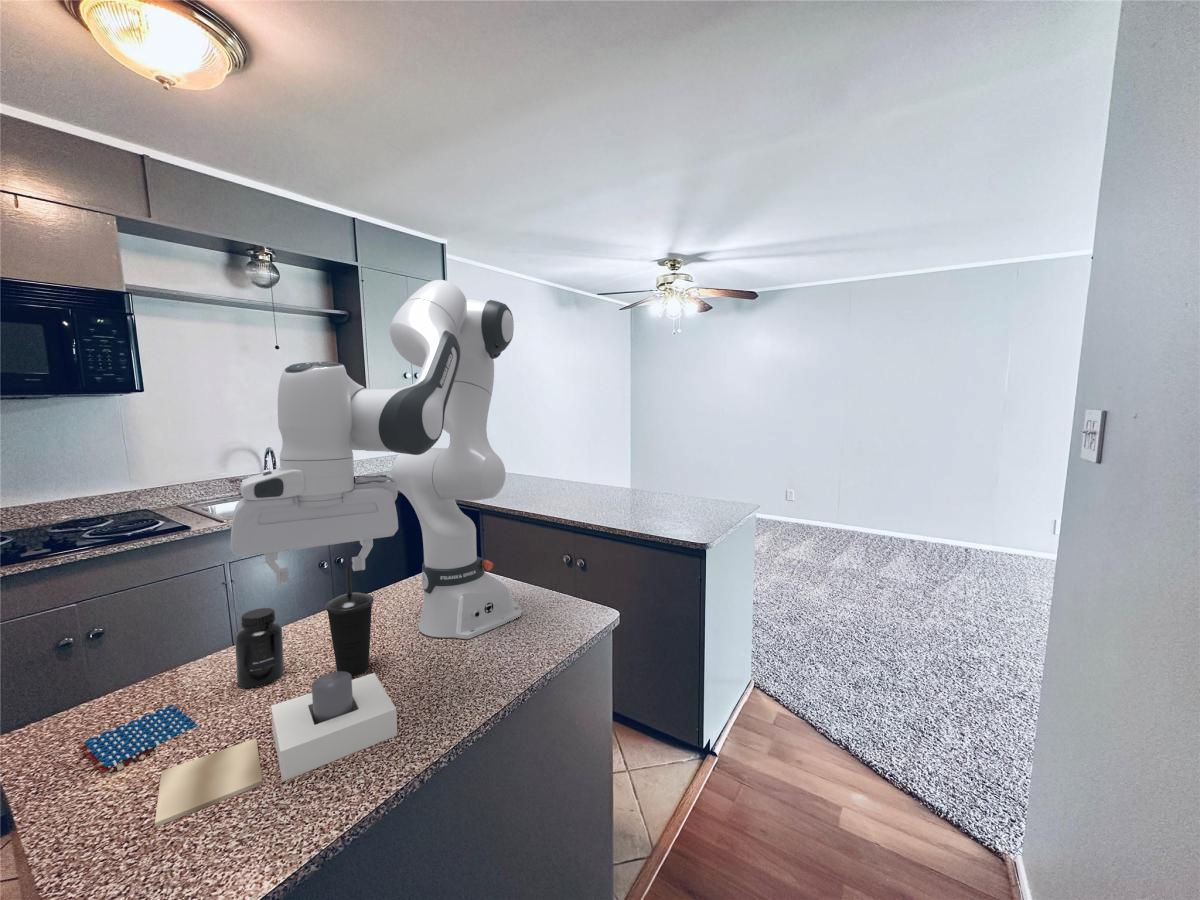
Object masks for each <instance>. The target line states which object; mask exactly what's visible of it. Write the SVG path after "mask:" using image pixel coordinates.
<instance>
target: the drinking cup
mask: <svg viewBox="0 0 1200 900" xmlns="http://www.w3.org/2000/svg"><path fill="white" fill-rule="evenodd" d="M351 570H352V569H351V566H350V565H347V566H346V567H345V572H346V573H345V575H346V576H345V577H346V593H344V594H340V595H339V596H337V597H335V598H332V599H331V600H329V601H327V602H326V604H325V605H324V608H325V611H326V612H327V616H328V623H329V629H330V637H331V641H332V642H331V643H332V647H333V654H334V660H335V667H336V672H338V671H344V672H348V673H350V674H351V676H352V678H354V677H357V676H359V675H362V674H363V673H365V672H367V671H368V669H369V664H370V662H369V661H370V645H371V643H370V642H371V627H372V607H373V603H374V600H375V599H374V596H373V595H371V594H369V593H363V592H352V577H351V574H352V572H351Z"/></svg>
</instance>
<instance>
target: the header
mask: <svg viewBox="0 0 1200 900" xmlns="http://www.w3.org/2000/svg"><path fill="white" fill-rule="evenodd" d="M352 696H353V712H350V713H347V714H344V715H341V716H339V717H336V718H333V719H330V720H327V721H325V722H322V723H319V724H316V725H314V716H313V699H312V692H309V693H307V694H303V695H301V696H298V697H294V698H290V699H287V700H283V701H281V702H279V703H275V704H271V706H270V709H271V711H270V712H271V724H272V726H271V727H272V736H273V741H274V746H275V750H276V756H277V762H278V767H279V772H280V776H281V781H282V782H285V781H288V780H290V779H293V778H295V777H298V776H300V775H303V774H306V773H307V772H310V771H312V770H315V769H317V768H320V767H322V766H325V765H327V764H330V763H333V762H335V761H337V760H340V759H343V758H346V757H348V756H350V755H353V754H355V753H356V752H360V751H362V750H364V749H367V748H370V747H372V746H374V745H377V744H379V743H381V742H385V741H387V740H389V739H392V738H394V737H396V736H398V718H397V717H398V716H397V707H396V706H395V704H394V703H393V701H392V699H391V697H390V696H389V694H388V693H387V691H386V690H385V688H384V686H383V684H382V683H381V681H380V680H379V678H378V676H377V674H376V673H375V672H373V673H369V674H367V675H366V674H365V675H363V676H359V677H357V678H354V679H352Z"/></svg>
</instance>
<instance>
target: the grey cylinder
mask: <svg viewBox="0 0 1200 900" xmlns="http://www.w3.org/2000/svg"><path fill="white" fill-rule="evenodd" d="M352 678H353V677H352V676H351V674H350V673H348V672H344V671H338V672H337V671H332V672H329V673H326V674H324V675H323V674H322V675H321V676H320V677H317V678H316V679H315V680H314V681H313V682H312V684H311V693H312V699H313V716H314V725H316V724H319V723H322V722H325V721H327V720H330V719H333V718H336V717H339V716H341V715H344V714H347V713H350V712H353V696H352V680H353V679H352Z"/></svg>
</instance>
